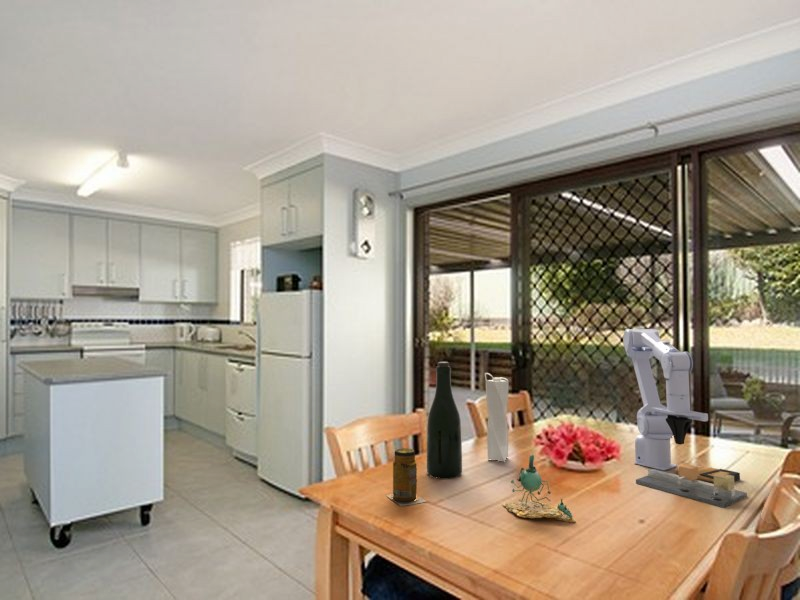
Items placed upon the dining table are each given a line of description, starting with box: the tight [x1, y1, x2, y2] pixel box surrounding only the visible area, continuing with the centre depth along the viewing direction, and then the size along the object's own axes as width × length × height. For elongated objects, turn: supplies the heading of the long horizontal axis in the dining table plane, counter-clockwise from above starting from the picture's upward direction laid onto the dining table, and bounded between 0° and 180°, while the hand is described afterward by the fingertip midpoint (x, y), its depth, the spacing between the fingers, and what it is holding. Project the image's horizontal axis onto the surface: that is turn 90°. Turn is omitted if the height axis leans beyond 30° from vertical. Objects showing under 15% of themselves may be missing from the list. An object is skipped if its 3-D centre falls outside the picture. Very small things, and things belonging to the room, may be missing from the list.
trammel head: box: [677, 463, 698, 486], centre depth 130 cm, size 3×7×4 cm, turn 124°
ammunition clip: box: [677, 465, 741, 484], centre depth 141 cm, size 11×2×12 cm
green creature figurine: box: [501, 454, 576, 523], centre depth 115 cm, size 10×18×15 cm, turn 43°
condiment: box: [386, 447, 427, 507], centre depth 125 cm, size 7×8×12 cm
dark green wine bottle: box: [426, 361, 463, 479], centre depth 146 cm, size 10×10×33 cm
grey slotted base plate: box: [635, 468, 748, 508], centre depth 131 cm, size 22×13×6 cm, turn 35°
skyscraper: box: [484, 372, 509, 462], centre depth 161 cm, size 8×8×28 cm
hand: (679, 443), depth 138 cm, fingers closed
